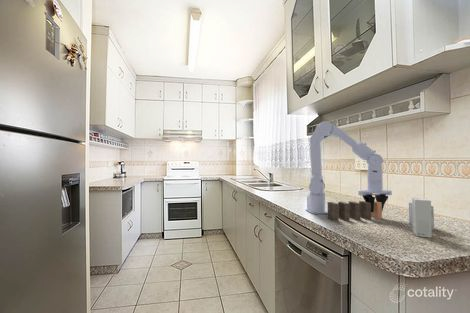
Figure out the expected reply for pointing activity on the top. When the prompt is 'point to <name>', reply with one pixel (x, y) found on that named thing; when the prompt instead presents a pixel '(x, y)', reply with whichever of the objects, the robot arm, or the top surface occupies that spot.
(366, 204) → the domino block
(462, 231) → the top surface
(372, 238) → the top surface
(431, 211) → the medicine box
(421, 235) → the skincare box
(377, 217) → the peach block
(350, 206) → the dark tile
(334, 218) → the dark tile
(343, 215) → the dark tile
